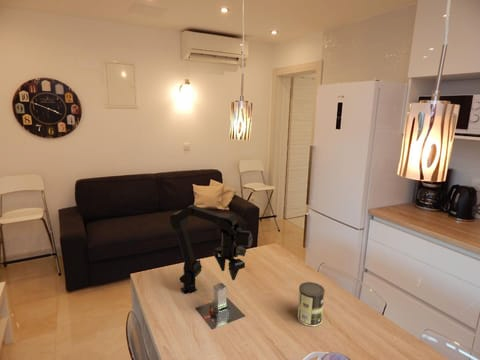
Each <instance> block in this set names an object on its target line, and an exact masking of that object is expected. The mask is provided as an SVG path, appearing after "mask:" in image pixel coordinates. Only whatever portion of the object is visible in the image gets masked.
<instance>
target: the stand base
mask: <svg viewBox="0 0 480 360" xmlns="http://www.w3.org/2000/svg"><path fill="white" fill-rule="evenodd" d="M213 302H214V301H211V302H208V303H206V304H203V305H199V306H196V307H194V309H195V310H196V312H197V313H198V314H199V315H200V317H201V318H202V319H203V321H204V322H205V323H206V324H207V326H208V327H209V328H210V329H211V330H215V329H218V328H220V327H223V326H225V325H227V324H230V323H233V322H235V321H237V320H240V319H243V318H245V317H246V315H245V314H244V313H243V312H242V311H241V309H239V307H237V305H235V304H234V303H233V301H231V299H229V297H227V296H226V304H227V306H226V307H223V308H221V309H217V308H216V307H215V306H214V304H213Z"/></svg>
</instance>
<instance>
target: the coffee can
mask: <svg viewBox="0 0 480 360" xmlns="http://www.w3.org/2000/svg"><path fill="white" fill-rule="evenodd" d="M298 290H299V291H298V305H297V306H298V307H297V319H298V321H299V323H301V324H302V325H305V326H307V327H313V328H314V327H319V326H320V325H321V324H322V322H323V309H324V298H325V292H326V291H325V288H324V286H322V285H321V284H320V283H316V282H313V281H312V282H311V281H306V282H303V283H301V284H300V285H299V287H298Z"/></svg>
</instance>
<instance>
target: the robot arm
mask: <svg viewBox="0 0 480 360" xmlns="http://www.w3.org/2000/svg"><path fill="white" fill-rule="evenodd" d="M190 216H192V217H196V218H198V219H200V220H204V221H206V222H209V223H212V224H214V225H216V226H217V228H219V230H217V232H216V233H218V234H221V244H219V247H216V248H214V249H213V250H212V255H213V256H214V257H213V258H215V259H216V261H217V264H218V266H219V267H220V270H221V272H224V271H225V268H226V260H227V261H229V262H228V271H229V274H230V277H231V280H232V281H235V280H236V277H237V275H238V272H239V271H240V270H242V269H245V268H246V262H244V260H242V259H241V258H237V257H238V256H241V257H245V255H246V253H247V249H246V248H251V246H252V245H253V234H252V231H251V230H242V227H241V224H240V223H239V221H238V220H237V217H236V215H235V214H233V213H226V212H224V213H223V212H222V213H221V212H220V213H219V212H215V211H213V210H210V209H209V210H208V209H205V208H203V207H200V206H197V205H195V204H192V205H189V206H187V207H186V208H184V209H183V210H179V211H176V212H174V213H173V214H171V215H170V217H168V220H169V224H170V226H171V228H172V229H173V230H174V231H175V232H176V235H177V238H178V242H179V245H180V250H181V252H182V256H183V260H184V262H183V268H182V269H183V274H182V275H181V276H180V277H179V281H180V283H181V284H183V286H182V287H181V288H180V290H181V292H182V293H183V294H184V295H187V294H192V293H196V291H198V289H197V287H196V278H197V277H198V275H200V274H201V272H202V268H203V266H202V264H201V260H200V259H199V260H197V258H196V257H195V254H194V250H193V247H192V243H191V239H190V236H189V233H188V225H189V224H188V223H189V219H188V218H189V217H190ZM245 247H246V248H245Z"/></svg>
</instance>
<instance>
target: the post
mask: <svg viewBox="0 0 480 360" xmlns="http://www.w3.org/2000/svg"><path fill="white" fill-rule="evenodd" d="M227 291H228V290H227V286H226V285H225V284H224V283H222V282H220V283H216V284H214V285H213V301H212V302H213V304H214V306H215V307H216V308H217V309H221V308H223V307H226V306H227V304H226V297H227Z"/></svg>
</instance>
